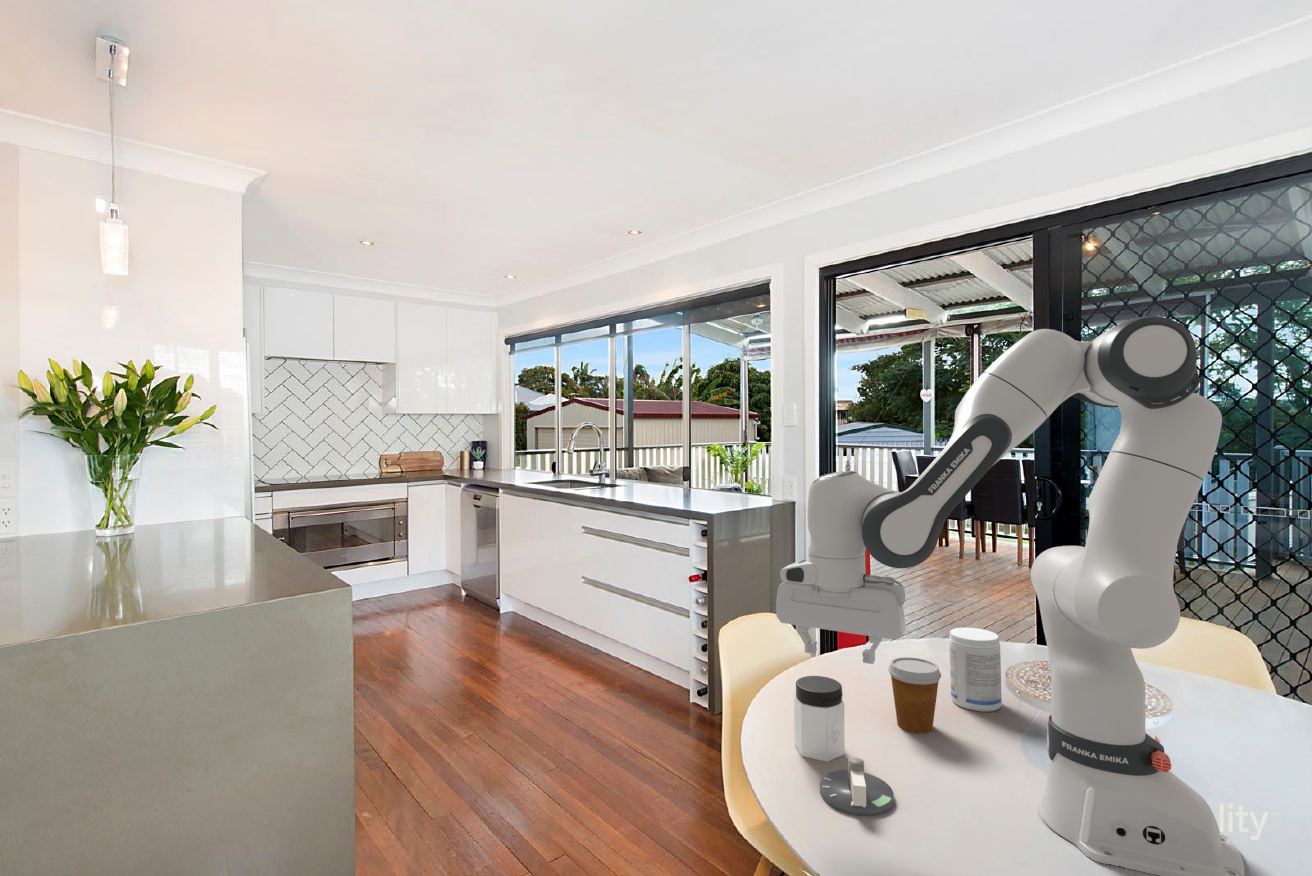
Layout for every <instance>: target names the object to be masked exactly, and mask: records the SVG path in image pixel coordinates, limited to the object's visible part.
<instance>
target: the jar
mask: <svg viewBox="0 0 1312 876" xmlns="http://www.w3.org/2000/svg"><path fill="white" fill-rule="evenodd" d="M793 701H794V702H793V703H794V706H793V709H794V710H793V711H794V721H793V722H794V723H793V724H794V746H795V747H796V749H797V751H798V752H799V754H800V755H801V757H804V758H807V759H812V760H817V761H821V762H827V763H828V762H830V761H833V760H835V759H838V758H840V757H842V756H844V755H845V754H846V753H845V741H846V740H845V737H846V735H845V702H844V701H843V686H842V684H841V683H840V682H839V681H838V680H836V679H834V678H831V677H828V676H827V677H826V676H822V675H807V676H802V677H800V678H798V679H797V680H796V681H795V694H794V696H793ZM837 757H838V758H837Z"/></svg>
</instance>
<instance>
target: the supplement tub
mask: <svg viewBox="0 0 1312 876" xmlns="http://www.w3.org/2000/svg"><path fill="white" fill-rule="evenodd" d="M948 638H949V675H950V679H949V680H950V699H951V700H952V702H953V703H955V704H956V706H959V707H960V708H963V709H967V710H970V711H975V712H979V713H980V712H985V713H986V712H987V713H988V712H994V711H998V710H999V709H1000V708H1001V707H1002V703H1003V702H1002V663H1001V662H1002V661H1001V644H1000V637H999V635H998V634H997V633H995V632H994V631H991V630H987V629H983V628H975V627H955V628H952V629H951V630H950V631H949V637H948Z"/></svg>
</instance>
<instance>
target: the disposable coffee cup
mask: <svg viewBox="0 0 1312 876" xmlns="http://www.w3.org/2000/svg"><path fill="white" fill-rule="evenodd" d="M889 663H890V664H889V666H888V668H887V669H888V673H889V675H890V677H891V679H890V680H891V686H892V687H891V688H892V693H893V701H894V707H895V715H896V723H897V724H896V725H897V727H899V729H901V730H903V731H905V732H908V733H912V734H921V735H923V734H930V733H931V732H932V731H933V728H934V721H935V713H936V712H935V711H936V703H937V696H938V690H939V689H938V688H939V681H940V680H941V678H942V673H941V671H940V669H939V665H937V664H936V663H935V662H933V661H931V660H927V659H924V658H920V657H911V656H901V657H895V658H893V659H892V660H890V662H889Z"/></svg>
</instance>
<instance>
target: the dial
mask: <svg viewBox="0 0 1312 876" xmlns="http://www.w3.org/2000/svg"><path fill="white" fill-rule="evenodd" d="M864 780H865V784H866V807H863V806H854V805H853V800H852V794H851V789H850V788H849V787H848V769H847V770H846V769H845V770H844V769H843V770H836V771H835V770H834V771H831V772H828V773H827V774H825V775H823V777H822V778H820V781H819V794H820V796H821V798H822V799H823V801H824V802H825V803H827V804H828V805H829V806H830V807H832V808H834V809H835V810H837V811H840V812H842V813H846V814H849V815H853V816H859V817H875V816H880V815H883V814H886V813H887V812H889V811H890V810H891V809H892V808H893V806H894V803H895V799H894V798H895V795H894V791H893V789H892V787H891V786H890V784H889V783H887V782H886V781H884V780H883V779H881V778H880V777H878V776H876V775H873V774H871V773H867V772H864Z"/></svg>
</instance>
